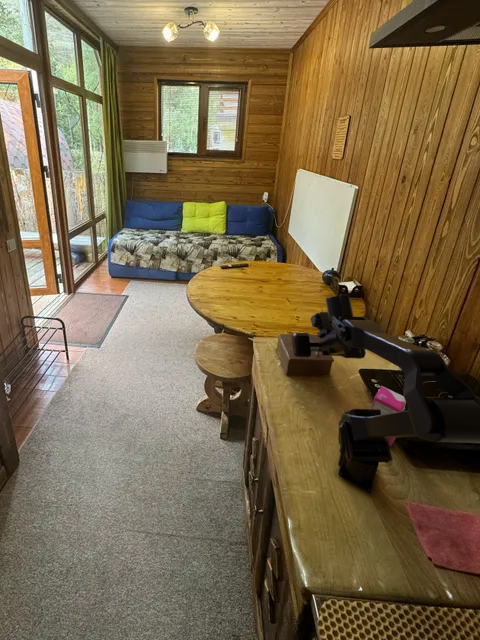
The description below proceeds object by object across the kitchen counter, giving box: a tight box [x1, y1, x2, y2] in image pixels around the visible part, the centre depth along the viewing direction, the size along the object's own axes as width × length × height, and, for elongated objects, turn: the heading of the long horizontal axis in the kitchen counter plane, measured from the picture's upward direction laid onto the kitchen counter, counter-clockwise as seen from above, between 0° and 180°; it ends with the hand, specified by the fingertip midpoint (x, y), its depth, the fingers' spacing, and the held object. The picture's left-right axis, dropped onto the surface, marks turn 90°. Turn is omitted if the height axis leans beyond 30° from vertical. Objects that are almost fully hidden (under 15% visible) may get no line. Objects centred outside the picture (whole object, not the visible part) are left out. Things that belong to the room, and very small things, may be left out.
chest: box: [276, 335, 333, 377], centre depth 102 cm, size 13×14×6 cm
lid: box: [278, 333, 335, 363], centre depth 100 cm, size 13×14×4 cm
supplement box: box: [371, 385, 407, 448], centre depth 76 cm, size 6×6×12 cm
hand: (316, 350), depth 91 cm, fingers open, 9 cm apart
